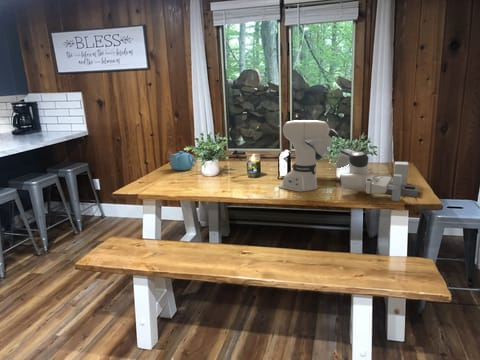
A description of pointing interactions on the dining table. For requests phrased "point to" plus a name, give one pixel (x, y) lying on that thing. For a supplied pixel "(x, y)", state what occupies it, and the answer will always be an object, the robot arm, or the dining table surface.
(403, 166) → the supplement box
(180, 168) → the decorative pot
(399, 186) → the clip
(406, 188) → the compartment tray
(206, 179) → the dining table surface
